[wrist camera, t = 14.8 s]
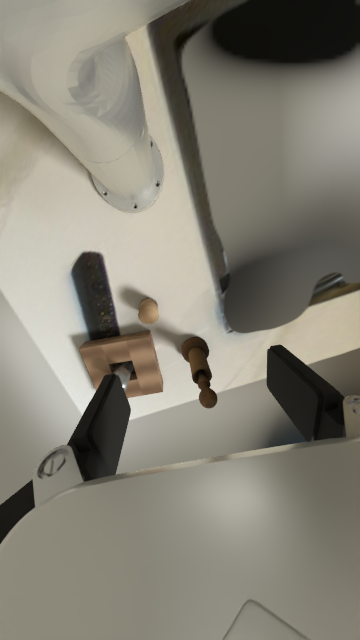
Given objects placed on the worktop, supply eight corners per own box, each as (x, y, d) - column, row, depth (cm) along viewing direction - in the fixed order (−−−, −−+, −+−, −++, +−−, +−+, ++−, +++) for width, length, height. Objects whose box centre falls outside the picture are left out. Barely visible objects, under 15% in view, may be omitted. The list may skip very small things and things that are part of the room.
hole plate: (85, 341, 42) (78, 349, 39) (150, 330, 42) (148, 336, 39) (106, 392, 48) (101, 402, 45) (163, 382, 48) (162, 391, 45)
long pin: (116, 358, 45) (104, 382, 36) (132, 355, 45) (123, 379, 36) (121, 370, 46) (110, 396, 38) (136, 368, 46) (128, 394, 38)
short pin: (151, 295, 39) (151, 302, 35) (160, 309, 41) (161, 318, 36) (136, 303, 39) (134, 311, 35) (146, 317, 41) (145, 327, 37)
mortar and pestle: (182, 359, 46) (189, 420, 29) (181, 337, 44) (188, 390, 27) (207, 358, 46) (228, 417, 29) (207, 336, 44) (231, 387, 27)
